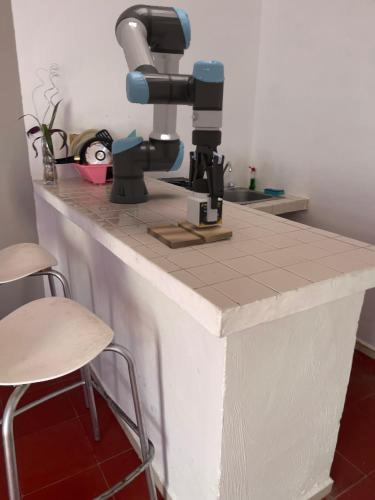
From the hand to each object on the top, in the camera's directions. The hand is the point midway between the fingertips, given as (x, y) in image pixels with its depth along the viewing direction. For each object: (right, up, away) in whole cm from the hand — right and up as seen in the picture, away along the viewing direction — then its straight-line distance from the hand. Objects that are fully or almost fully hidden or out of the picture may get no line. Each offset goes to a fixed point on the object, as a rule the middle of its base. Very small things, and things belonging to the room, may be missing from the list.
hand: (204, 217), depth 102 cm
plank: (0, -4, +1) cm, 4 cm away
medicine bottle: (0, -2, +1) cm, 2 cm away
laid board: (-8, -6, -3) cm, 10 cm away
